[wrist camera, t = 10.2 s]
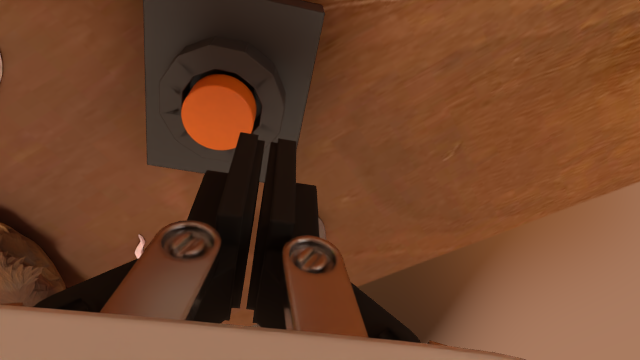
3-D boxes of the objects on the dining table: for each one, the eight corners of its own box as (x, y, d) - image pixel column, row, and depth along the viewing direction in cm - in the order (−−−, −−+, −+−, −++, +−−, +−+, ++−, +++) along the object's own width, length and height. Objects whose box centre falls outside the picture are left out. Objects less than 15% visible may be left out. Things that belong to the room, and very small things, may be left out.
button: (190, 67, 20) (181, 78, 19) (260, 80, 21) (257, 92, 19) (187, 129, 22) (179, 144, 21) (252, 140, 23) (249, 156, 21)
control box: (156, -33, 21) (128, -24, 17) (323, 5, 22) (327, 20, 19) (157, 148, 27) (136, 181, 23) (289, 169, 28) (288, 203, 25)
